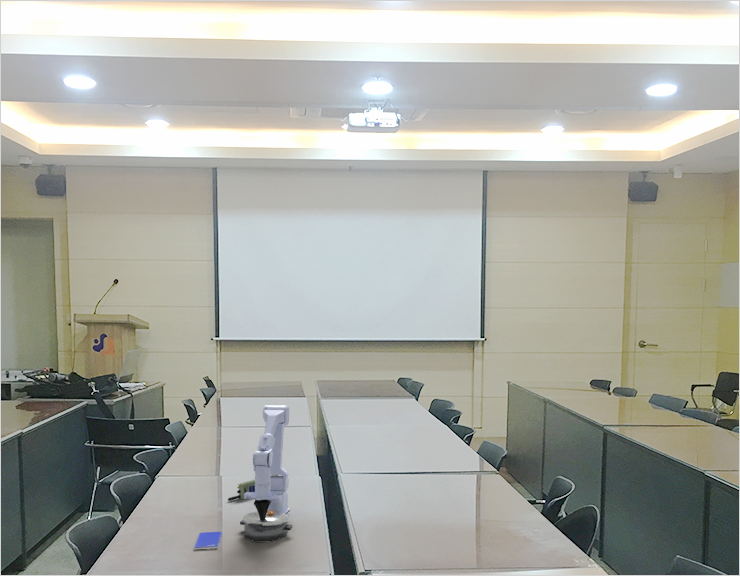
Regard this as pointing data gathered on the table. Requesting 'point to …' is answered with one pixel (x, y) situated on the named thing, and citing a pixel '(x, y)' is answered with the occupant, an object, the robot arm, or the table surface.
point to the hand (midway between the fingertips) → (262, 519)
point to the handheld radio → (245, 489)
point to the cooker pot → (265, 532)
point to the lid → (271, 519)
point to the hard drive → (208, 540)
